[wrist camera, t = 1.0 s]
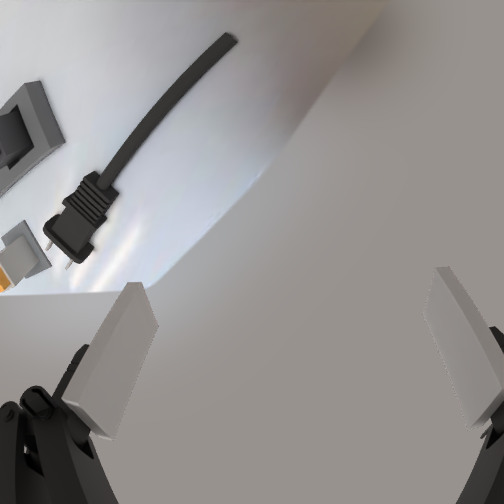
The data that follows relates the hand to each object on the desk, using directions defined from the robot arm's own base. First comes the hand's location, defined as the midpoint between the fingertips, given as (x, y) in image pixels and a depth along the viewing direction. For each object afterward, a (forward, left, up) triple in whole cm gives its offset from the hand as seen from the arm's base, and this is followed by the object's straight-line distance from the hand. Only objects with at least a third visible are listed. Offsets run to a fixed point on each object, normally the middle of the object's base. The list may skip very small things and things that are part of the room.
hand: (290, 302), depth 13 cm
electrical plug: (-8, -19, -27) cm, 34 cm away
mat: (-3, -49, -26) cm, 55 cm away
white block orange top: (-3, -49, -26) cm, 55 cm away
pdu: (-20, -44, -26) cm, 55 cm away
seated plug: (-20, -33, -25) cm, 46 cm away
